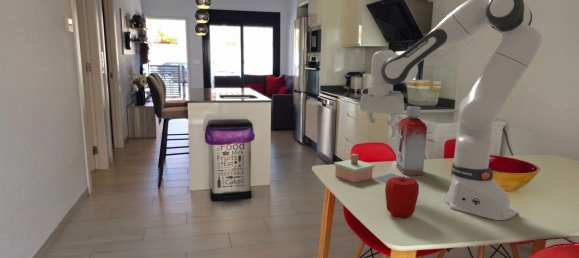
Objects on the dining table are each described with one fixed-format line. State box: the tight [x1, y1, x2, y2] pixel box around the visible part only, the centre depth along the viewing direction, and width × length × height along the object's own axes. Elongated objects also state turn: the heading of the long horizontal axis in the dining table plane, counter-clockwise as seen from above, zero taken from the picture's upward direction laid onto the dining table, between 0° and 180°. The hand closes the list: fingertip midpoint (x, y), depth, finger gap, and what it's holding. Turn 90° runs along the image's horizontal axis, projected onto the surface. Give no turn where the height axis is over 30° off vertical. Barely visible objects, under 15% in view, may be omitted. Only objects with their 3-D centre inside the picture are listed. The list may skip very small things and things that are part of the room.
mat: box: [372, 172, 403, 184], centre depth 159 cm, size 13×13×1 cm
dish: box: [334, 166, 374, 184], centre depth 161 cm, size 11×11×6 cm
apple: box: [384, 175, 420, 219], centre depth 122 cm, size 11×10×14 cm
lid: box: [333, 153, 376, 172], centre depth 160 cm, size 12×12×5 cm
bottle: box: [395, 105, 428, 176], centre depth 170 cm, size 14×10×30 cm
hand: (381, 123), depth 156 cm, fingers open, 8 cm apart
